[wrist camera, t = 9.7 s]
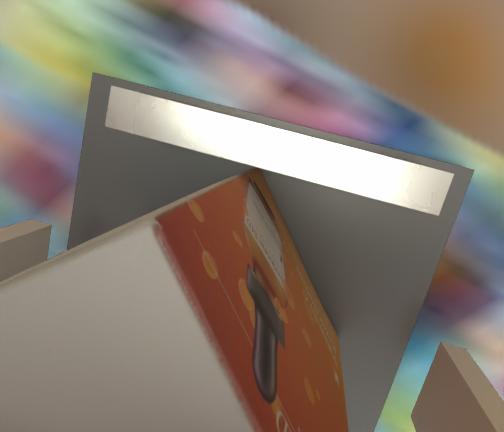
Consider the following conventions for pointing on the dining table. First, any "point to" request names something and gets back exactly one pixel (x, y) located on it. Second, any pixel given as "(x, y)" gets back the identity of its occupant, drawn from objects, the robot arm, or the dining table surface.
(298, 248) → the board
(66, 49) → the dining table surface
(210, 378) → the small box
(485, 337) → the dining table surface
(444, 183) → the end holder
